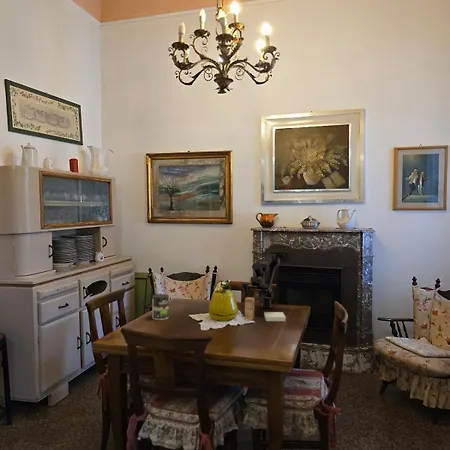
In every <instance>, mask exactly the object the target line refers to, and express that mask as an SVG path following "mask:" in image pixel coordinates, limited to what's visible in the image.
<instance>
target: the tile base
mask: <svg viewBox="0 0 450 450" xmlns="http://www.w3.org/2000/svg"><path fill="white" fill-rule="evenodd" d="M263 312H264V313H263V314H264V315H263V317H264V320H265V321H266V322H286V318H287V317H286V315H285V314H284V312H283V311H281V312H280V311H276V312H275V311H263Z"/></svg>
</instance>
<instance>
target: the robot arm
mask: <svg viewBox="0 0 450 450" xmlns="http://www.w3.org/2000/svg"><path fill="white" fill-rule="evenodd" d="M280 264H281V259H280V258H279V257H278V256H277V255H275V254H274V253H268V254H266V256H265V257H264V259H263V260H262V261H255V263H253V264H252V266H251V268H252V271H253V274H254V276H250V279H249V282H250V284H251V285H249V283H248V282H247V283H246V282H242V283H241V285H240V286H241V289H242V290H243V291H244V295H245V297H244V299H246V298H247V297H248V296H249V293H250V290H257V291H259V292H258V294H259V298H258V301H261V300H262V304H261V308H262V309H272V303H271V302H272V300H274V297H275V296H274V293H273V289H272V283H273V280H274V276H275V271H276V270H277V268H278V267H279V265H280ZM265 273H266V276H265ZM264 278H265V280H264ZM263 282H264V284H263Z"/></svg>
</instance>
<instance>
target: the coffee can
mask: <svg viewBox="0 0 450 450" xmlns="http://www.w3.org/2000/svg"><path fill="white" fill-rule="evenodd" d="M151 297H152V301H151V304H152V307H151V308H152V311H151V312H152V313H151V314H152V315H151V316H152V317H151V318H152V319H153V320H156V321H164V320H168V319H169V315H170V313H169V310H170V308H169V306H170V305H169V299H170V298H169V297H170V295H168V294H165V293H158V294H157V293H156V294H153V295H152V296H151Z"/></svg>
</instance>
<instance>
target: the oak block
mask: <svg viewBox="0 0 450 450" xmlns="http://www.w3.org/2000/svg"><path fill="white" fill-rule="evenodd" d="M246 319H248V320H249V321H252V320H254V319H255V297H248V296H247V298H244V320H246Z"/></svg>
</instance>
